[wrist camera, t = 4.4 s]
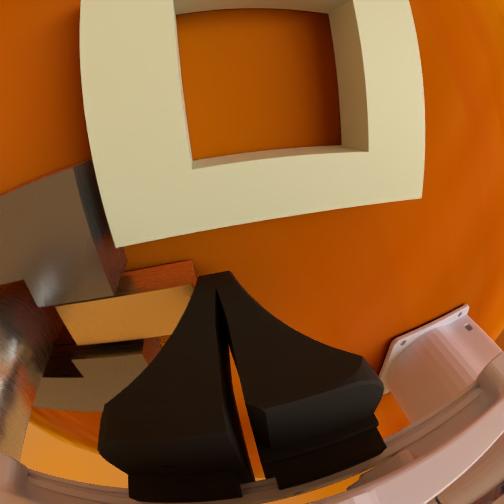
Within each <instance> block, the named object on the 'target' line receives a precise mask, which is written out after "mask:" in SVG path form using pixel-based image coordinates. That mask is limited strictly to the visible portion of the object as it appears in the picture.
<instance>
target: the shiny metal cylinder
mask: <svg viewBox="0 0 504 504" xmlns="http://www.w3.org/2000/svg"><path fill="white" fill-rule="evenodd" d="M55 306H56V305H51V306H44V307H38V306H37V304H36V302H35V300H34V298H33V296H32V295H31V293H30V291H29V289H28V287H27V284H26V282H25V280H20V281H15V282H11V283H6V284H5V285H4V287H3V288H2V289H1V290H0V453H1V454H4V455H6V456H9V457H11V458H13V459H15V460H17V461H19V462H20V458H21V453H22V447H23V443H24V438H25V434H26V430H27V426H28V422H29V418H30V414H31V411H32V407H33V404H34V401H35V397H36V394H37V391H38V388H39V385H40V382H41V379H42V376H43V374H44V371H45V368H46V366H47V363H48V360H49V358H50V355H51V353H52V350H53V348H54V345H55V343H56V341H57V338H58V336H59V334H60V331H61V329H62V327H63V324H64V322H63V320H62V319H61V317H60V315H59V313H58V312H57V310H56V308H55Z"/></svg>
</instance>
